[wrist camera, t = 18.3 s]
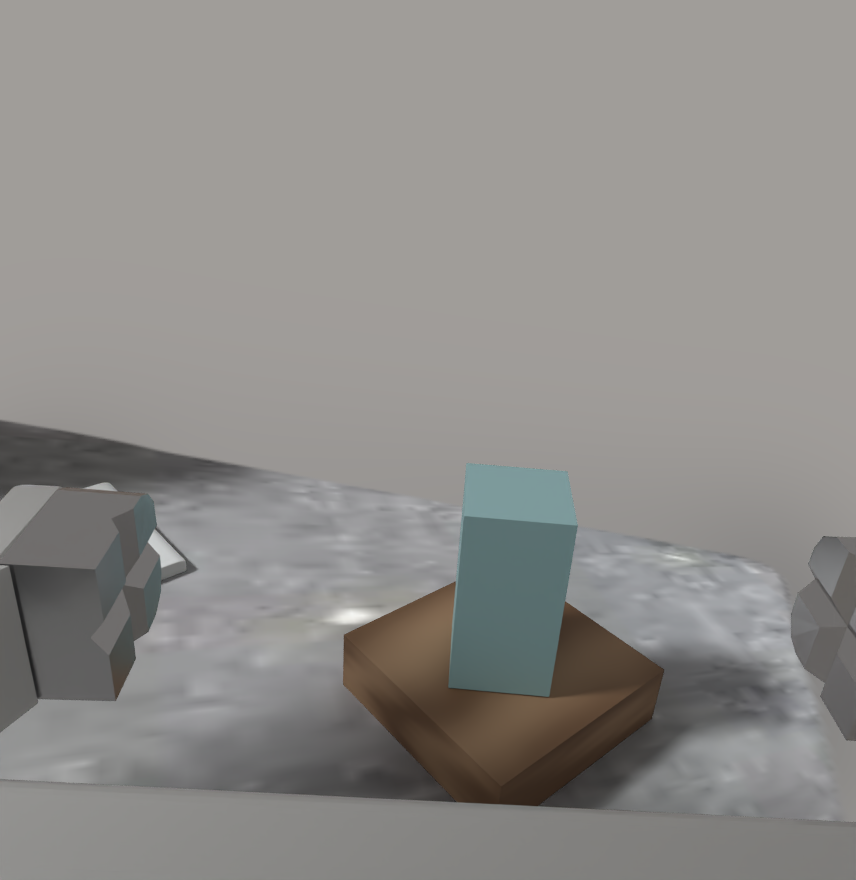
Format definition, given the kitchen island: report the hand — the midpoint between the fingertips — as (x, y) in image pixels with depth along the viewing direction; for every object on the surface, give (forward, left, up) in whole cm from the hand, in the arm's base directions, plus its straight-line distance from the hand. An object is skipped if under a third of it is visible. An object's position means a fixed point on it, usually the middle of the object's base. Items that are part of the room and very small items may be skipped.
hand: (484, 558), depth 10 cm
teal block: (-16, +18, -23) cm, 33 cm away
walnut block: (-16, +19, -27) cm, 37 cm away
